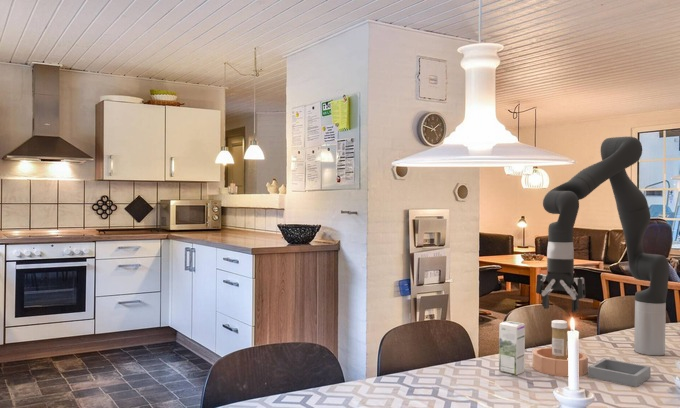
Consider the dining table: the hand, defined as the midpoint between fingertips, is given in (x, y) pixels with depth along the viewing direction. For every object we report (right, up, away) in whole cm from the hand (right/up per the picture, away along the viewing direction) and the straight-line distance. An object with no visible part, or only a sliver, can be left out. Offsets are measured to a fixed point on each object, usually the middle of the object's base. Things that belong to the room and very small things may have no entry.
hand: (560, 310), depth 179 cm
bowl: (0, -18, 0) cm, 18 cm away
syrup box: (-16, -18, -3) cm, 24 cm away
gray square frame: (+14, -18, -8) cm, 24 cm away
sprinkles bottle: (0, -17, 0) cm, 17 cm away
